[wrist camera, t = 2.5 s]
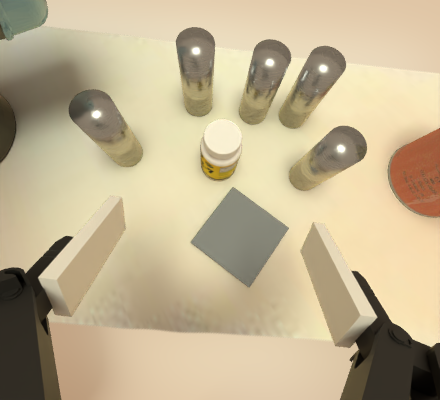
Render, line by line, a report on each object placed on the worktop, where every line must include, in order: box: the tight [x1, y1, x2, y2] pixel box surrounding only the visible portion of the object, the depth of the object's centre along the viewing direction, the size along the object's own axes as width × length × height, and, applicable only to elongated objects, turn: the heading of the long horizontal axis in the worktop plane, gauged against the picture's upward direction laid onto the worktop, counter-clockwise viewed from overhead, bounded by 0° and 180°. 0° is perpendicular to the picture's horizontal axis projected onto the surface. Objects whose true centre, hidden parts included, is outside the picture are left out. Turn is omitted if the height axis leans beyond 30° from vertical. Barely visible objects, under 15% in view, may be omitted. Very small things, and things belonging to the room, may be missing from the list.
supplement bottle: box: [200, 119, 242, 181], centre depth 27 cm, size 5×5×8 cm
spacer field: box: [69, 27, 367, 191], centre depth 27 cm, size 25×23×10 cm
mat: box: [191, 187, 289, 287], centre depth 29 cm, size 9×9×1 cm
